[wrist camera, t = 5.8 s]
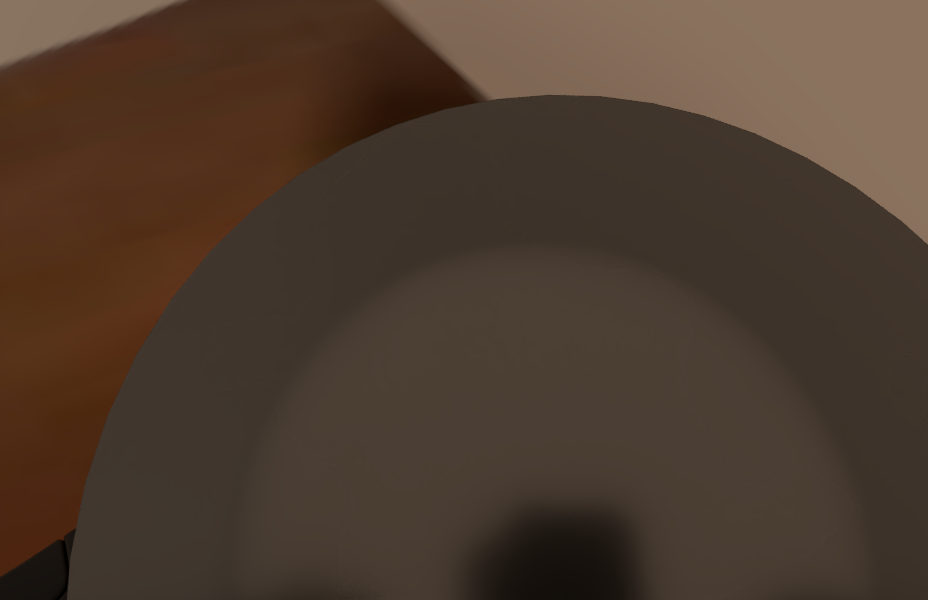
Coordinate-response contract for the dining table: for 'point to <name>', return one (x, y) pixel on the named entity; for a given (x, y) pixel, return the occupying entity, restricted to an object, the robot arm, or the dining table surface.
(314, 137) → the dining table surface
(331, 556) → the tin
